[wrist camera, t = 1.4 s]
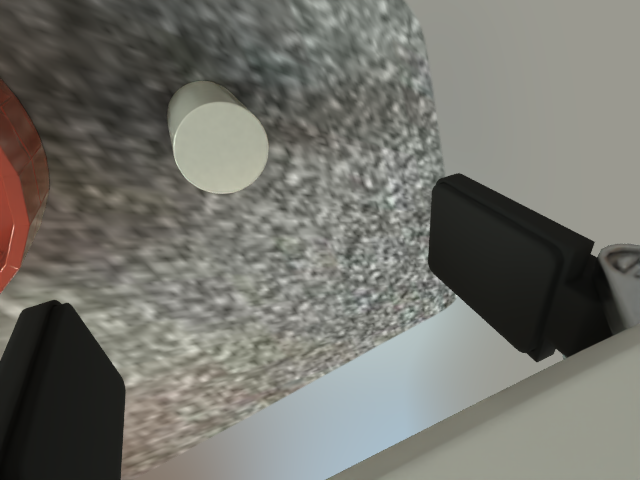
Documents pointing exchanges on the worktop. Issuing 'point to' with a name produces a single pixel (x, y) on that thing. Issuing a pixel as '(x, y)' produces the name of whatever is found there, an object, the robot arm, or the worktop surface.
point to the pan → (19, 184)
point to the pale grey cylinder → (215, 138)
